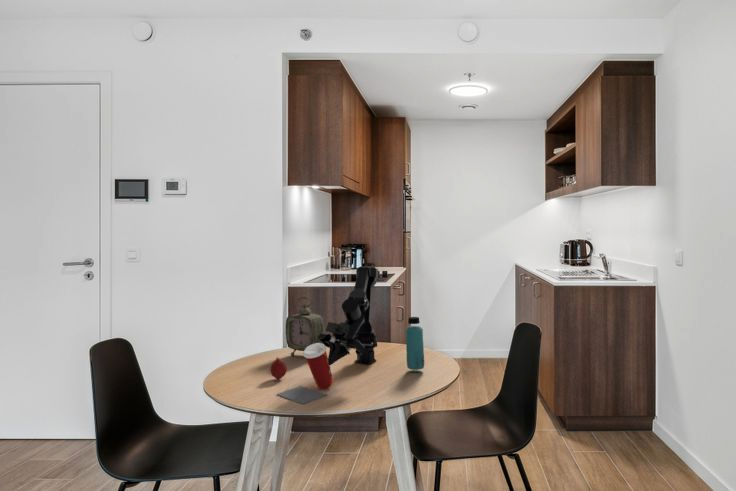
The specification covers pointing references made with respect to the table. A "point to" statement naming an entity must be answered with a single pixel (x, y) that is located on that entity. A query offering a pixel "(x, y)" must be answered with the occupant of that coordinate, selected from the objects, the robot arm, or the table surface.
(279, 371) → the red rounded piece
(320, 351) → the paper cup
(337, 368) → the table surface
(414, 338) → the beverage bottle
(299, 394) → the mat
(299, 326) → the tabletop clock
